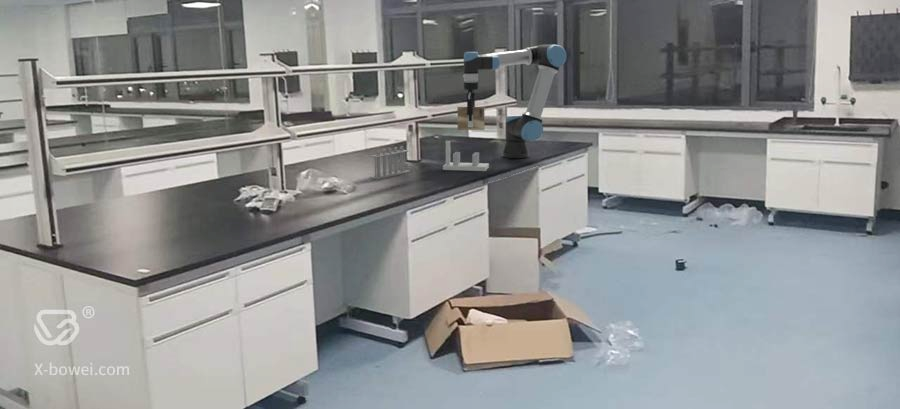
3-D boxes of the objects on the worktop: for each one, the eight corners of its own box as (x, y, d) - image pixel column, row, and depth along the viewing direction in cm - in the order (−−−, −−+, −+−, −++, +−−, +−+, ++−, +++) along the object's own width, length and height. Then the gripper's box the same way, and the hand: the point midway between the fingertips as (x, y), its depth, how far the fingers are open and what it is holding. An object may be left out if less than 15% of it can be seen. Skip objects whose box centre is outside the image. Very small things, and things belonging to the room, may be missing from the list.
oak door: (458, 129, 404) (458, 106, 401) (484, 129, 401) (484, 106, 399) (457, 130, 400) (457, 107, 398) (483, 130, 398) (483, 107, 395)
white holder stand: (447, 166, 398) (447, 139, 395) (488, 167, 395) (489, 140, 392) (442, 169, 387) (442, 142, 384) (485, 171, 383) (485, 143, 380)
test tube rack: (377, 179, 361) (376, 152, 358) (370, 178, 364) (369, 151, 361) (409, 172, 381) (409, 146, 378) (402, 171, 384) (402, 145, 381)
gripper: (466, 81, 404) (466, 125, 409) (461, 82, 389) (461, 128, 394) (480, 81, 403) (480, 125, 408) (475, 82, 388) (475, 128, 393)
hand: (471, 126), depth 401 cm, fingers closed on oak door, 2 cm apart
